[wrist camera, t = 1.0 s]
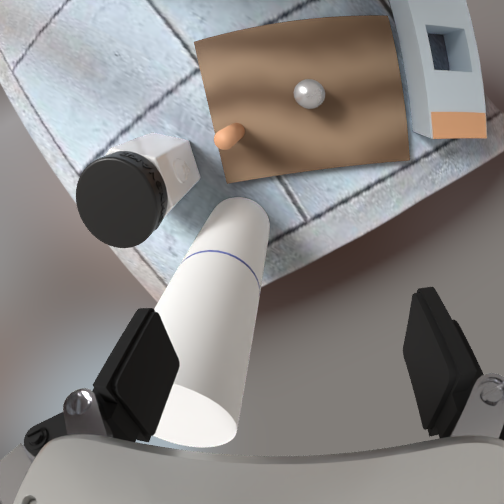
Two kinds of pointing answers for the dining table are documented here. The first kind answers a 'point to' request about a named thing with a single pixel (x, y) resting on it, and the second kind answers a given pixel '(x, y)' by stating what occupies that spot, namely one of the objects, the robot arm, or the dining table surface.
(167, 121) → the dining table surface
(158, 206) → the jar
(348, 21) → the board
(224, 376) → the cylindrical container
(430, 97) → the slotted bar
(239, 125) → the pin
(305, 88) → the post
